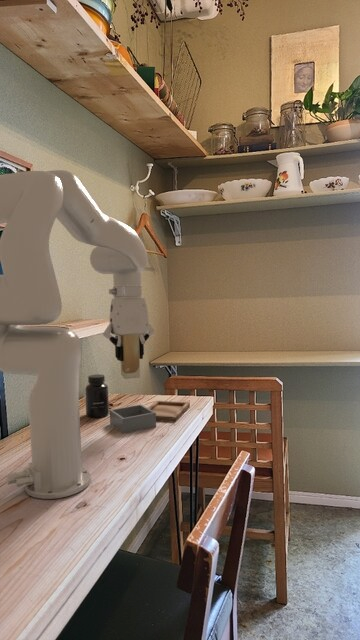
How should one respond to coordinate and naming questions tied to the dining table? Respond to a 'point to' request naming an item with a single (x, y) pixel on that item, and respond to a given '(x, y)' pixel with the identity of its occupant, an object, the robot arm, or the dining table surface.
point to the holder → (132, 418)
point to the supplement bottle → (96, 397)
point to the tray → (169, 410)
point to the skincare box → (130, 356)
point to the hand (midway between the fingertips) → (129, 358)
